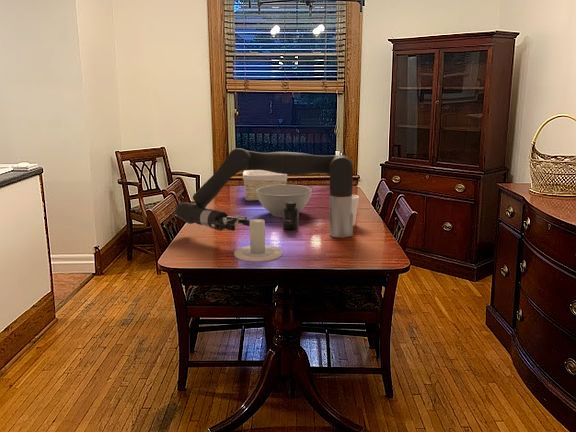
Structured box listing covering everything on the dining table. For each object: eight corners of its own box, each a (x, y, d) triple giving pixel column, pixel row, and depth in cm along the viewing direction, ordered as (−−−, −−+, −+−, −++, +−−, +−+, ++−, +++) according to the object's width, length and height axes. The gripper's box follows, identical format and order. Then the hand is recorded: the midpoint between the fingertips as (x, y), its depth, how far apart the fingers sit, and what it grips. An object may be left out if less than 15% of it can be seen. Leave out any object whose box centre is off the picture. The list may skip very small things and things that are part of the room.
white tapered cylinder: (265, 249, 211) (264, 218, 208) (265, 253, 206) (264, 222, 203) (250, 249, 211) (249, 219, 208) (250, 254, 205) (249, 223, 202)
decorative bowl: (313, 208, 280) (313, 184, 277) (310, 221, 254) (310, 195, 251) (260, 207, 283) (260, 184, 280) (252, 220, 257) (251, 195, 254)
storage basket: (286, 194, 313) (286, 169, 309) (287, 201, 297) (287, 173, 293) (244, 195, 311) (243, 169, 308) (243, 202, 296) (242, 174, 292)
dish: (280, 246, 218) (280, 244, 217) (283, 260, 200) (283, 258, 200) (234, 247, 216) (234, 245, 216) (234, 262, 199) (233, 260, 199)
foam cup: (345, 221, 254) (345, 193, 251) (362, 224, 249) (362, 195, 245) (333, 225, 247) (333, 196, 244) (350, 228, 242) (351, 199, 238)
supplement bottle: (285, 231, 238) (284, 204, 235) (281, 227, 245) (280, 201, 242) (300, 230, 240) (300, 203, 237) (296, 226, 246) (295, 200, 243)
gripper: (199, 213, 215) (228, 219, 205) (226, 206, 226) (255, 212, 215) (200, 232, 217) (229, 239, 207) (227, 224, 227) (255, 231, 217)
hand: (242, 225), depth 211 cm, fingers open, 8 cm apart
